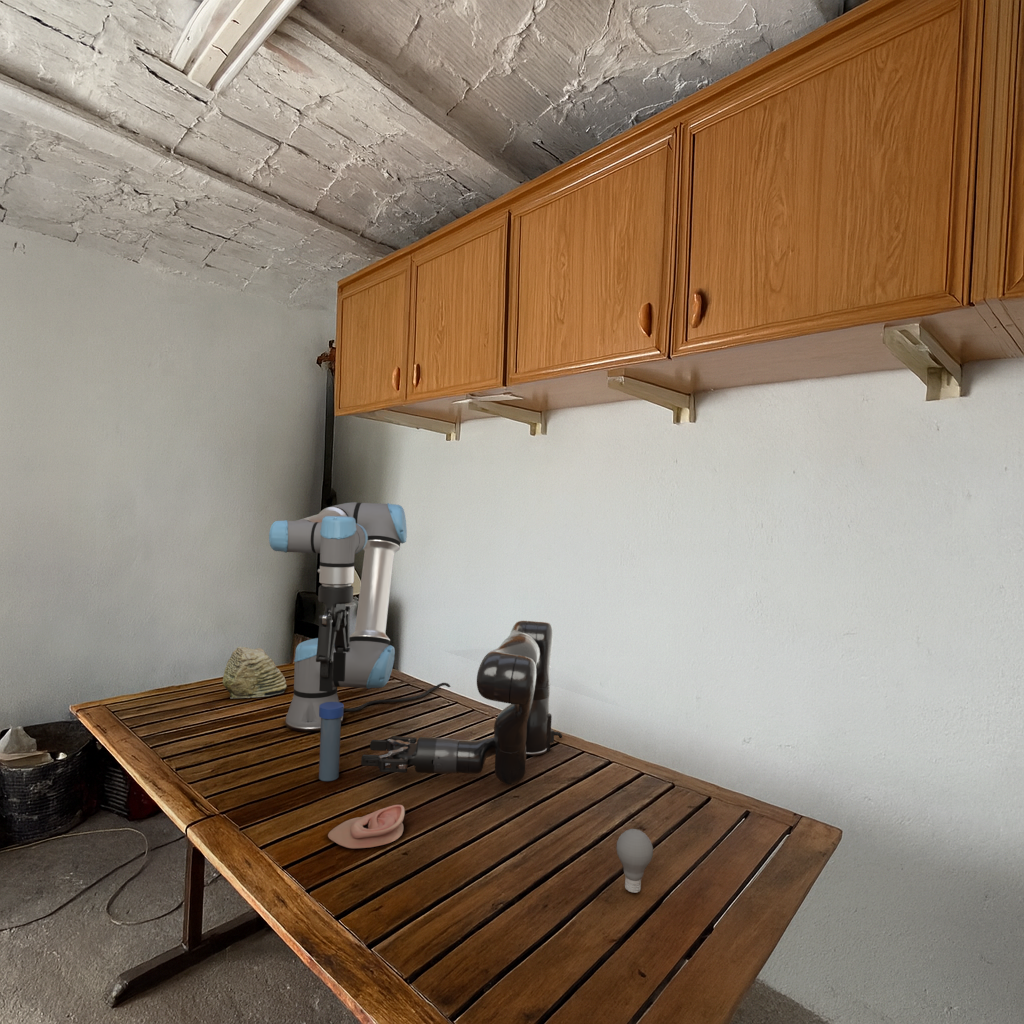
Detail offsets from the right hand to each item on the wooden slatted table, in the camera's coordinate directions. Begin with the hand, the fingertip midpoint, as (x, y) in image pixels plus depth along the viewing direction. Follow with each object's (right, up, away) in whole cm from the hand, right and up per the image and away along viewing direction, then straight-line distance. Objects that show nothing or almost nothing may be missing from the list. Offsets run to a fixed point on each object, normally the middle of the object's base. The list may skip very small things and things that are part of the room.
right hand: (366, 752), depth 143 cm
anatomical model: (+5, -7, -23) cm, 25 cm away
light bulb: (+53, -9, -37) cm, 65 cm away
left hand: (-8, +15, 0) cm, 17 cm away
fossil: (-48, -3, +55) cm, 73 cm away
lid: (-8, +10, 0) cm, 13 cm away
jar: (-9, -6, 0) cm, 10 cm away
